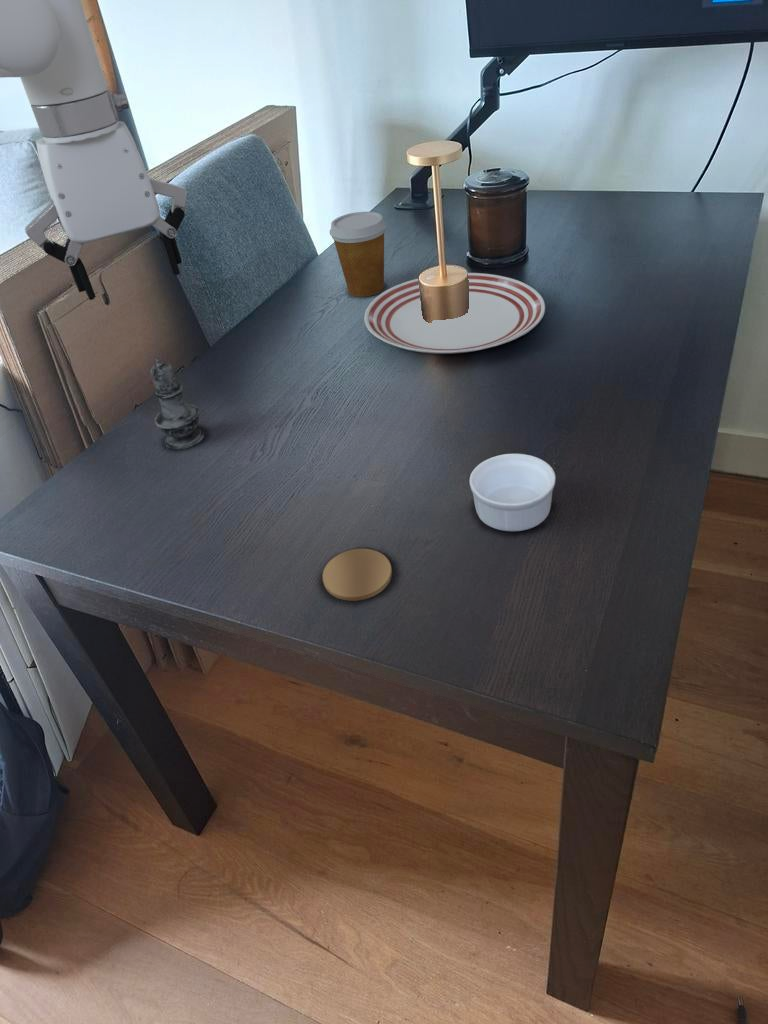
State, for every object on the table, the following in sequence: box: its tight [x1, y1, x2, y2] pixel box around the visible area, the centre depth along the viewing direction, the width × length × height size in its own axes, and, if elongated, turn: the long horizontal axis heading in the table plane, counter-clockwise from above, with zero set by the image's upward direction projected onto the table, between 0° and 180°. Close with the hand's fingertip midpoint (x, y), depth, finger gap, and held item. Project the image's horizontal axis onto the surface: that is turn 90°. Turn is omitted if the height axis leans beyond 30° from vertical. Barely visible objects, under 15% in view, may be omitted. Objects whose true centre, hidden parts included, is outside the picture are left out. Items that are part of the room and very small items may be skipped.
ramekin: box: [469, 453, 557, 532], centre depth 80 cm, size 9×9×4 cm
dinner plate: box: [363, 272, 546, 355], centre depth 117 cm, size 28×27×3 cm
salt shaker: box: [149, 357, 205, 451], centre depth 98 cm, size 6×6×12 cm
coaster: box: [322, 548, 393, 602], centre depth 76 cm, size 7×7×1 cm
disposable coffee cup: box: [329, 211, 387, 298], centre depth 129 cm, size 10×10×12 cm
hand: (133, 283), depth 86 cm, fingers open, 9 cm apart
